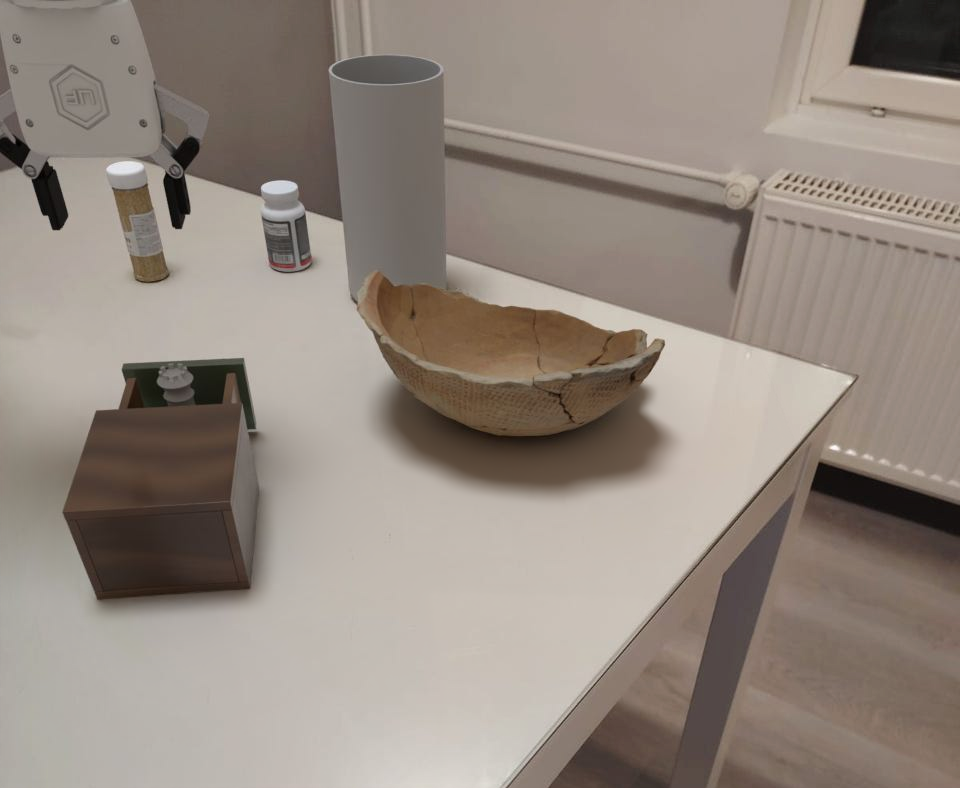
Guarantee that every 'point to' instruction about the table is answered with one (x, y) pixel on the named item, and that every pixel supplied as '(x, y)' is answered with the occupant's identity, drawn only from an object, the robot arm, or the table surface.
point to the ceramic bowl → (502, 358)
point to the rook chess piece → (176, 385)
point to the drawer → (209, 383)
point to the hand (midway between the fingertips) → (120, 223)
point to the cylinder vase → (391, 167)
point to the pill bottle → (285, 226)
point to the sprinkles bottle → (138, 220)
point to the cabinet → (165, 501)
